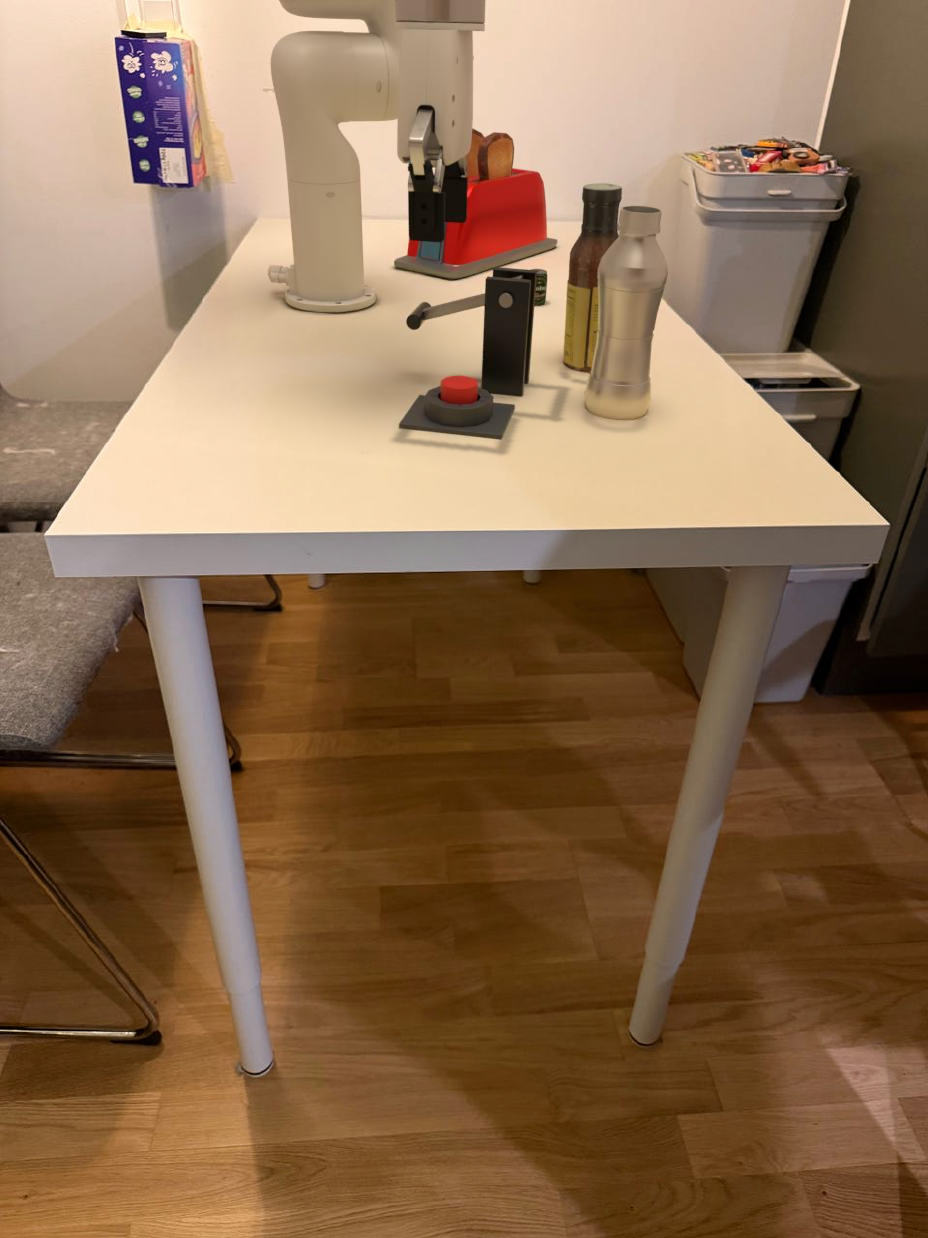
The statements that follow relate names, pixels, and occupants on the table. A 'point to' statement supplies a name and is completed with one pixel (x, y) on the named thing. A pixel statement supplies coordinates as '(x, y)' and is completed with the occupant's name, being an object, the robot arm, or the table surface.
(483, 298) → the lever
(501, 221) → the toaster
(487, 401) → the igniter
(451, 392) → the button
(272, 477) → the table surface
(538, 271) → the beer can
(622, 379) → the plastic bottle
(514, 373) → the bracket
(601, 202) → the sauce bottle
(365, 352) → the table surface
